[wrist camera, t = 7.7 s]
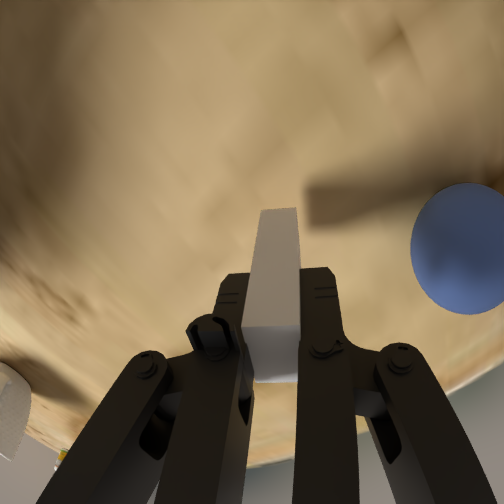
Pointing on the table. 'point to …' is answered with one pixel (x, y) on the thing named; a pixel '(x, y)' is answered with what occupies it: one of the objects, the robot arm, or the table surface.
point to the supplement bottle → (60, 457)
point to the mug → (12, 410)
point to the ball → (461, 248)
